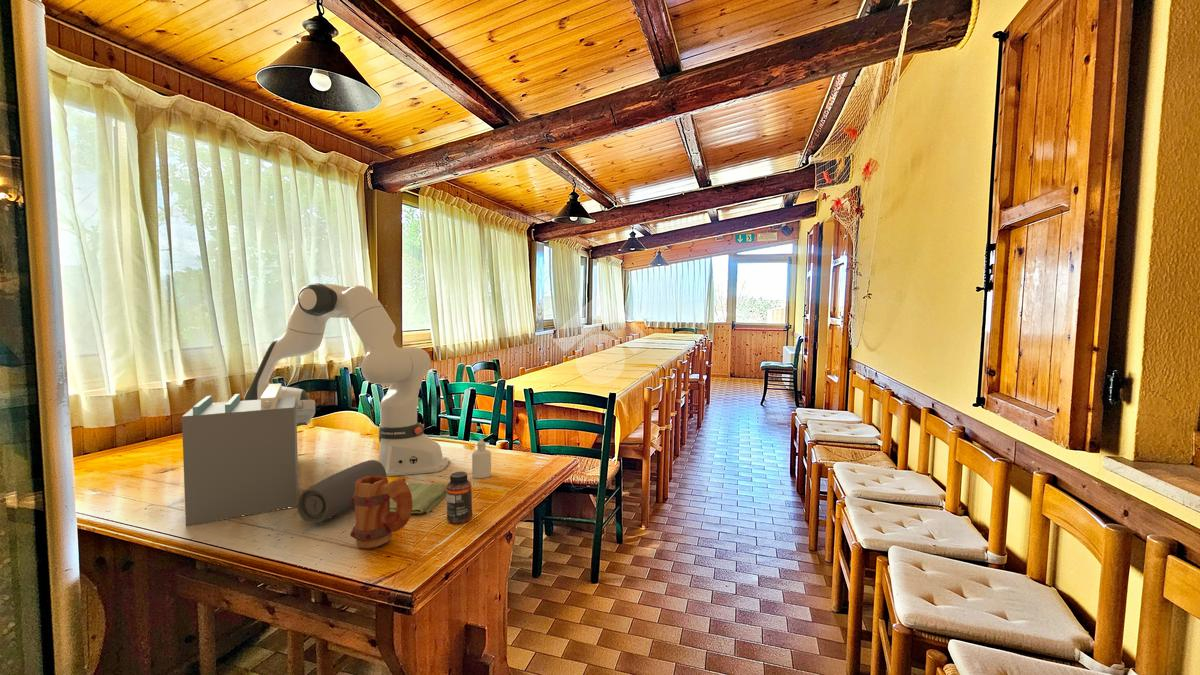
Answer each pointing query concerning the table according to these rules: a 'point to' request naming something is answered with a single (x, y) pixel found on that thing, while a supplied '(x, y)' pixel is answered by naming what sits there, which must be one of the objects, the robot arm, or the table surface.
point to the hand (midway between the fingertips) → (276, 401)
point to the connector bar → (271, 396)
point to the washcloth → (423, 497)
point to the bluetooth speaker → (335, 492)
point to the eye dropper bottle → (481, 461)
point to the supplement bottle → (459, 498)
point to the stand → (239, 458)
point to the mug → (379, 509)
